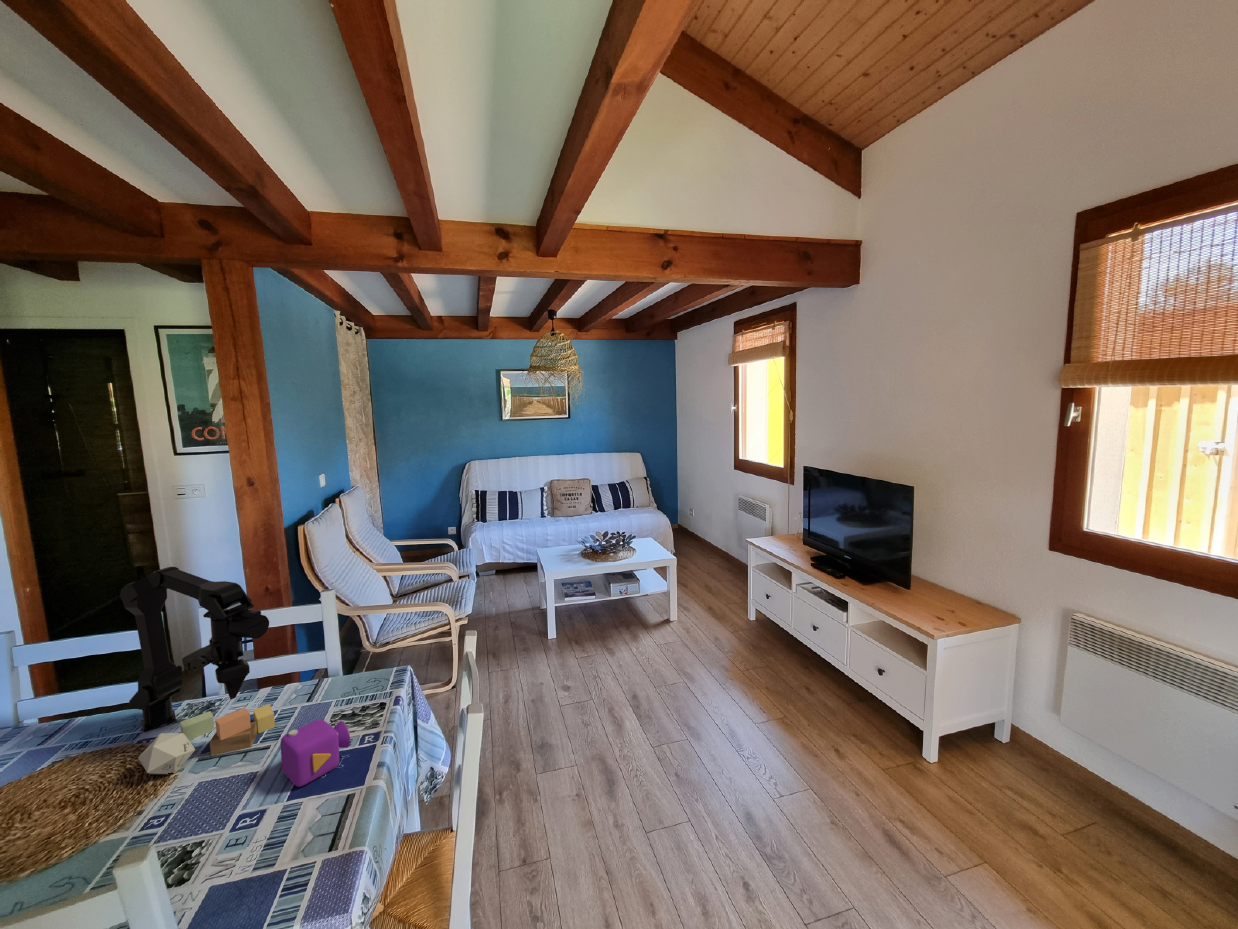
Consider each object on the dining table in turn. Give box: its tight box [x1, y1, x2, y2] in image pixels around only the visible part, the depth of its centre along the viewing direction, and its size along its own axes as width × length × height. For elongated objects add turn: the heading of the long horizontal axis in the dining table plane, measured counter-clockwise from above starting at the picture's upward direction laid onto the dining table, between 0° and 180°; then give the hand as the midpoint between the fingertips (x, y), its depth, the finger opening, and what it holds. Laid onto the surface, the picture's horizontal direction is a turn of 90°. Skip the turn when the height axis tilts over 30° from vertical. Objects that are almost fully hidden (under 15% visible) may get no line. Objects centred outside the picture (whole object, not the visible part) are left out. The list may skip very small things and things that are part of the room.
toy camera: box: [279, 718, 351, 788], centre depth 112 cm, size 11×14×10 cm
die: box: [138, 732, 196, 775], centre depth 111 cm, size 8×9×10 cm
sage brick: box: [179, 710, 215, 741], centre depth 124 cm, size 4×6×4 cm, turn 140°
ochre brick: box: [252, 703, 276, 734], centre depth 127 cm, size 4×6×4 cm, turn 46°
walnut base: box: [209, 721, 258, 757], centre depth 119 cm, size 5×8×4 cm, turn 112°
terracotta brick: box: [214, 707, 251, 740], centre depth 119 cm, size 4×6×4 cm, turn 143°
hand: (229, 691), depth 123 cm, fingers open, 9 cm apart
